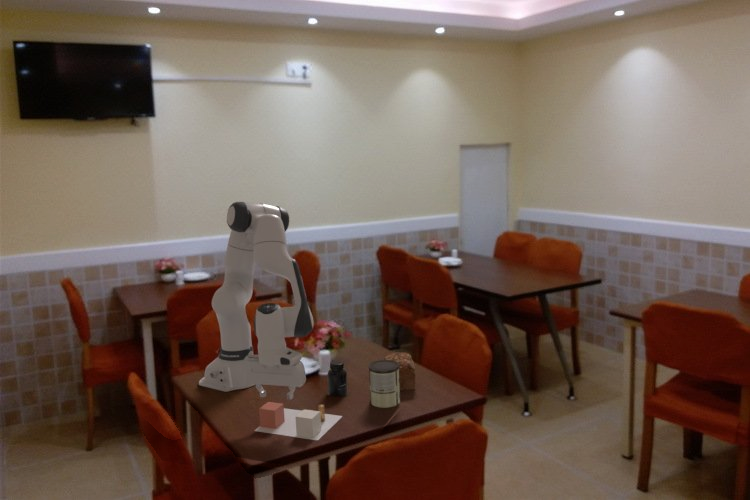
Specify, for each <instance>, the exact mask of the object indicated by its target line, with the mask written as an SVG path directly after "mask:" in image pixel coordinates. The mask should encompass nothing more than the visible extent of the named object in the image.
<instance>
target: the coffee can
mask: <svg viewBox="0 0 750 500" xmlns="http://www.w3.org/2000/svg"><path fill="white" fill-rule="evenodd" d="M368 374H369V375H368V376H369V377H368V379H369V395H370V396H369V398H370V404H371V405H372V406H374V407H377V408H381V409H382V408H383V409H384V408H385V409H386V408H387V409H388V408H393V407H396V406H399V404H401V394H400V393H401V391H400V388H399V363H398V362H396V361H392V360H384V359H379V360H375V361H372V362H371V363H369V364H368Z"/></svg>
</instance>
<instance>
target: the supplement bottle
mask: <svg viewBox="0 0 750 500" xmlns="http://www.w3.org/2000/svg"><path fill="white" fill-rule="evenodd" d="M327 395H328V396H332V397H344V398H345V397H346V396H347V395H348V372H347V370H346V369H345V364H344V361H342V360H332V361H331V362H329V369H328V371H327Z"/></svg>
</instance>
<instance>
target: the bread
mask: <svg viewBox="0 0 750 500" xmlns="http://www.w3.org/2000/svg"><path fill="white" fill-rule="evenodd" d="M383 360H392V361H396V362H398V363H399V388H400V392H401V391H402V392H407V391H408V392H409V391H414V390H415V388H416V387H415V386H416V377H417V375H416V366H415V363H414V360H413V359H412V355H411V354H410V353H408V352H403V351H402V352H391V353H389V354H388V355H386V356H385V357H384V358H383Z"/></svg>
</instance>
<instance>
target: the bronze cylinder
mask: <svg viewBox="0 0 750 500" xmlns="http://www.w3.org/2000/svg"><path fill="white" fill-rule="evenodd" d="M317 411H320V415H321V422H324V421H325V414H326V413H325V411H326V410H325V404H322V403H321V404H318V405H317Z"/></svg>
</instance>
